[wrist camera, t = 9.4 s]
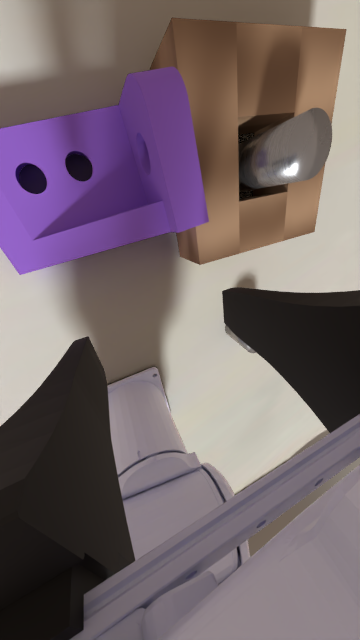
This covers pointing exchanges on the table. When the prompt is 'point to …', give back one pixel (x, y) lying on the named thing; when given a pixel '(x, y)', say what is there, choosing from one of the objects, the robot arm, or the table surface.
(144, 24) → the table surface
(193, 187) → the bracket
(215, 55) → the hole block
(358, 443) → the robot arm
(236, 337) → the short pin
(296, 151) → the tall pin
